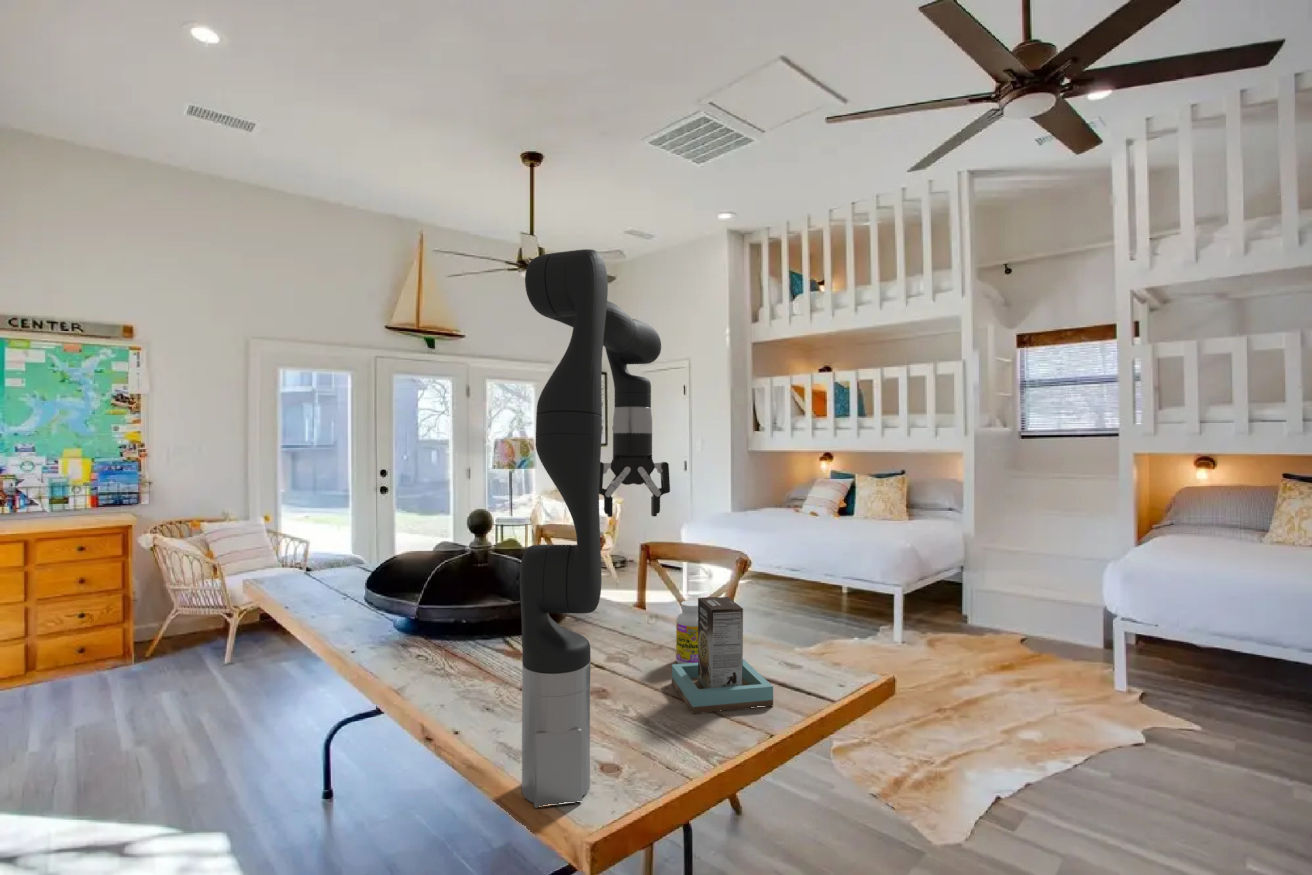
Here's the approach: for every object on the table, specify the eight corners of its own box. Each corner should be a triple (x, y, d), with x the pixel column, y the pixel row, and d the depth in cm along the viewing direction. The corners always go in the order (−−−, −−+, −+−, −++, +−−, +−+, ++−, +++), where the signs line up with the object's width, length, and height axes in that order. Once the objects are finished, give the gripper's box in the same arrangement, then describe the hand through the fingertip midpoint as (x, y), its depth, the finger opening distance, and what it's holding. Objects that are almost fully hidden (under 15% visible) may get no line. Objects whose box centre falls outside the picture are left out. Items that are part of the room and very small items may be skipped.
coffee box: (696, 680, 126) (696, 597, 126) (728, 677, 128) (728, 595, 128) (709, 698, 117) (710, 608, 117) (743, 695, 119) (744, 607, 119)
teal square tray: (773, 706, 117) (773, 686, 117) (692, 713, 114) (692, 693, 114) (743, 676, 131) (743, 659, 131) (671, 682, 128) (671, 664, 128)
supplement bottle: (670, 664, 139) (670, 604, 139) (684, 655, 144) (684, 597, 145) (699, 670, 135) (699, 608, 136) (711, 660, 141) (712, 601, 141)
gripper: (597, 430, 119) (597, 519, 119) (673, 431, 122) (672, 517, 122) (593, 431, 127) (593, 515, 127) (664, 432, 130) (664, 513, 129)
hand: (632, 516), depth 124 cm, fingers open, 8 cm apart
